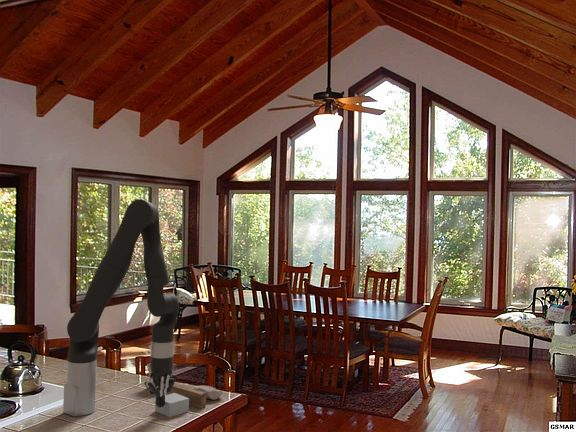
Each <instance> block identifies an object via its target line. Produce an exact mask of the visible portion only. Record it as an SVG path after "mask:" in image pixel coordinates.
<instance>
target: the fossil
mask: <svg viewBox="0 0 576 432" xmlns="http://www.w3.org/2000/svg"><path fill="white" fill-rule="evenodd" d="M193 389H195V390H198V391H202V392H206V400H209V399H210V400H213V401H214V400H217V399H219V398H220V397H221V396H222V395H223V391H222V390H220V389H217V388H215V387H213V386H211V385H196V386H195V385H194V386H193Z"/></svg>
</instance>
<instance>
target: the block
mask: <svg viewBox="0 0 576 432" xmlns="http://www.w3.org/2000/svg"><path fill="white" fill-rule="evenodd" d="M154 406H155V407H154V412H156V413H158V412H159V414H161V415H163V416H166V417H168V418H171V417H175V416H178V415H181V414H185V413H189V411H190V405H189V398H187V397H184V396H182V395H179V394H176V393H172V394H168V395H165V404H164V407H161V408H159V407H157V406H156V400H155V405H154Z"/></svg>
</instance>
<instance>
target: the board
mask: <svg viewBox="0 0 576 432" xmlns="http://www.w3.org/2000/svg"><path fill="white" fill-rule="evenodd" d="M168 387H169V386H168ZM172 393H176V394H179V395H182V396H184V397H187V398H189V407H190V406H191V407H194V408H197V409H204V408H205V407H206V404H207V403H206V402H207V401H206V400H207V398H206V392H202V391H198V390H195V389H194V388H190V387H187V386H183V385H179V384H176V383H174V385H173V387H172V389H171V391H170V392H167V393H166V395H168V394H172ZM203 407H204V408H203Z"/></svg>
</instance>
